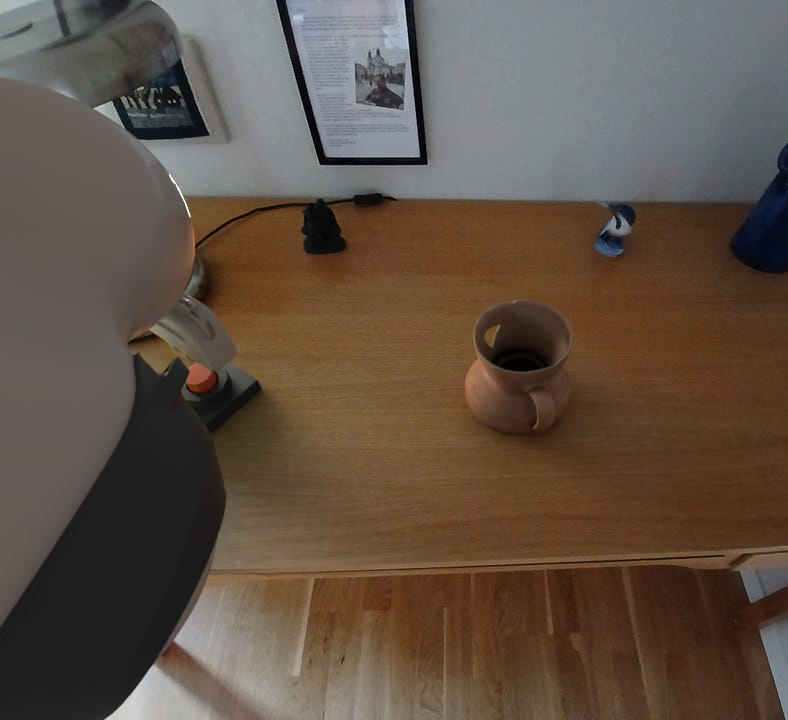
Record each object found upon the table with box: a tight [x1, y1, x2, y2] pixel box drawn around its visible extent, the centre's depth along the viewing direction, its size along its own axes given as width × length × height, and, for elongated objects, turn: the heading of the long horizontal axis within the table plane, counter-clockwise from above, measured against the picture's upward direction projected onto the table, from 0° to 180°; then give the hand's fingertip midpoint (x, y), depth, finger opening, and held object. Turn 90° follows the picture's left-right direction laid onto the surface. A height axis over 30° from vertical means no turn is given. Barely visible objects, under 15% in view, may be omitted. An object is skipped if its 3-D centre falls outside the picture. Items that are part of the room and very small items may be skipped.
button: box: [185, 363, 217, 394], centre depth 74 cm, size 4×4×2 cm
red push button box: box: [181, 361, 263, 434], centre depth 76 cm, size 10×9×4 cm
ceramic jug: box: [464, 298, 574, 437], centre depth 72 cm, size 18×14×14 cm
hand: (189, 355), depth 71 cm, fingers closed
